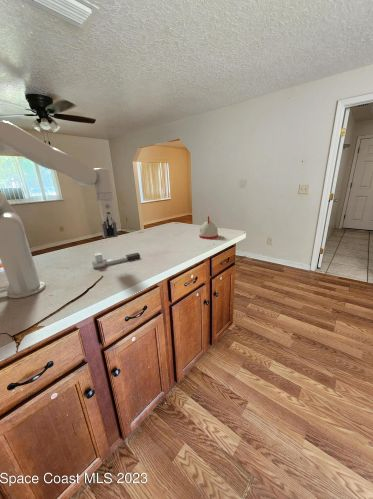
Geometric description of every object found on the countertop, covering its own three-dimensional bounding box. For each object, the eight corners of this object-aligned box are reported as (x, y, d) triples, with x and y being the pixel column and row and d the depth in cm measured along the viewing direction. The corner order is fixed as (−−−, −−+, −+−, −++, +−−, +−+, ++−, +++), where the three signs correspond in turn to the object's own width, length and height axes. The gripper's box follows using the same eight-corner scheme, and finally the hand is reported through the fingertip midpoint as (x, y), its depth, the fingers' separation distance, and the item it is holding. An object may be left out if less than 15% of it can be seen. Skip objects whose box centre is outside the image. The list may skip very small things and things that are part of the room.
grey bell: (217, 234, 160) (218, 214, 155) (218, 239, 147) (218, 218, 142) (200, 234, 162) (199, 215, 157) (198, 239, 149) (198, 218, 144)
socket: (104, 238, 97) (102, 223, 95) (102, 235, 102) (100, 221, 100) (117, 236, 100) (115, 222, 98) (115, 234, 105) (113, 220, 103)
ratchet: (94, 269, 103) (91, 257, 101) (92, 265, 108) (89, 253, 106) (141, 259, 114) (139, 248, 112) (137, 255, 120) (136, 245, 118)
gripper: (116, 197, 90) (121, 237, 96) (109, 195, 104) (114, 230, 110) (98, 198, 86) (104, 239, 92) (93, 196, 101) (99, 232, 106)
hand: (109, 234), depth 101 cm, fingers closed on socket, 6 cm apart
